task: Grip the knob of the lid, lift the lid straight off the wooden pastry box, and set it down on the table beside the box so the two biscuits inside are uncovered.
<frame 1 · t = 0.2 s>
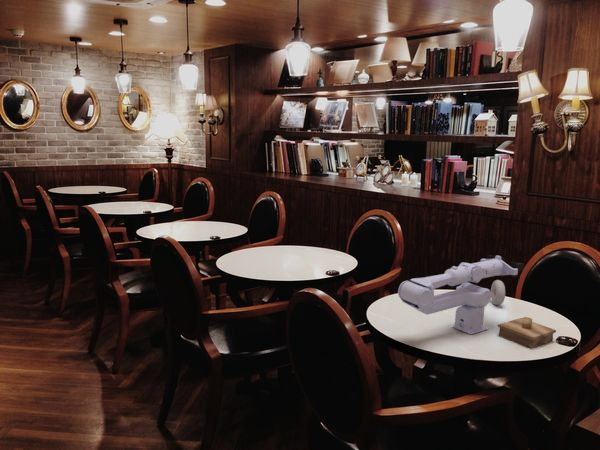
hand: (513, 263, 192), 21 cm above the table, tool horizontal, fingers open, 7 cm apart
biscuit a: (527, 343, 175), resting in box
lid: (526, 329, 178), point 3 cm above the table, touching box
biscuit b: (523, 335, 182), resting in box
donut: (496, 305, 212), on the table
box: (525, 338, 179), on the table
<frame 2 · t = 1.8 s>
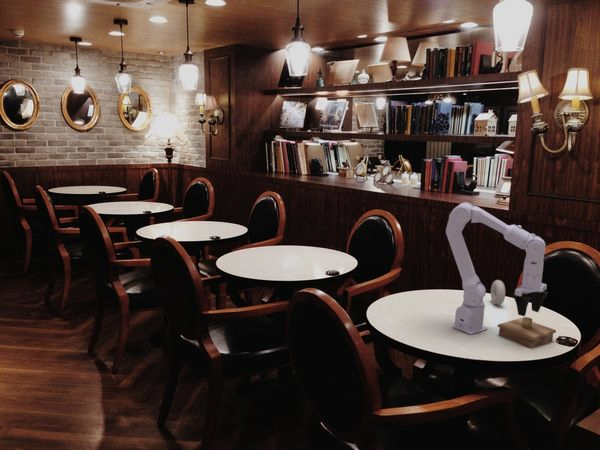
hand: (528, 313, 177), 9 cm above the table, tool pointing down, fingers open, 7 cm apart
nothing on the table moved.
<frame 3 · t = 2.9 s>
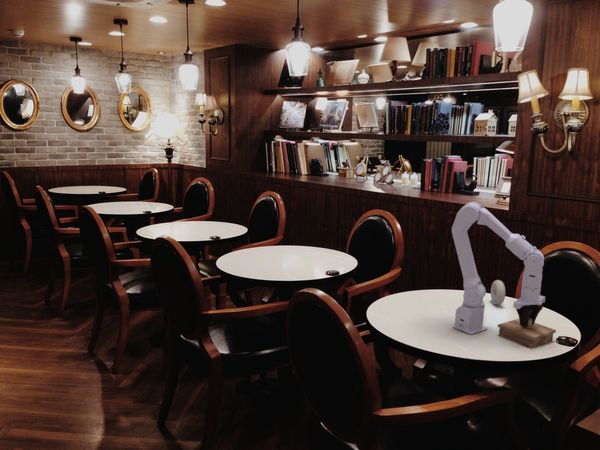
hand: (526, 325, 178), 4 cm above the table, tool pointing down, fingers closed on lid, 3 cm apart
lid: (526, 329, 178), point 3 cm above the table, touching box, gripper
everything else where it was.
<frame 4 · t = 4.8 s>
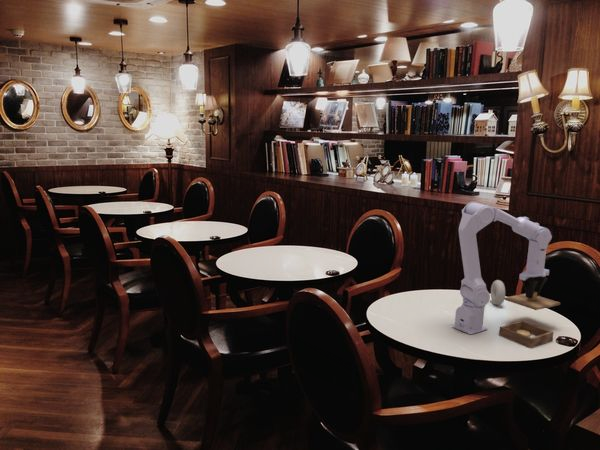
hand: (532, 296, 189), 10 cm above the table, tool pointing down, fingers closed on lid, 3 cm apart
lid: (531, 302, 189), point 9 cm above the table, touching gripper
everything else where it was.
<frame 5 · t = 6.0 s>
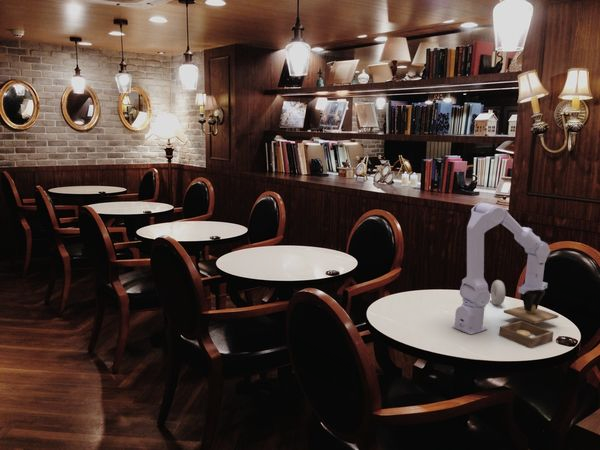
hand: (530, 309, 192), 5 cm above the table, tool pointing down, fingers closed on lid, 3 cm apart
lid: (530, 315, 192), point 3 cm above the table, touching gripper
everything else where it was.
when the fingers open (3 cm above the table, at t = 6.7 s): lid drops 2 cm, on the table.
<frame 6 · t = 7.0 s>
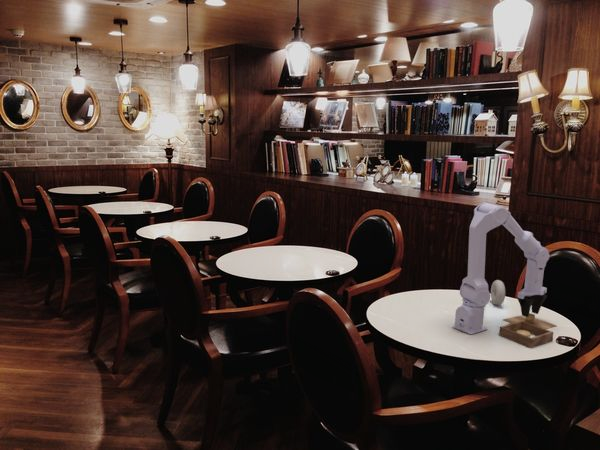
hand: (529, 314, 192), 3 cm above the table, tool pointing down, fingers open, 5 cm apart
lid: (529, 324, 193), on the table
everything else where it was.
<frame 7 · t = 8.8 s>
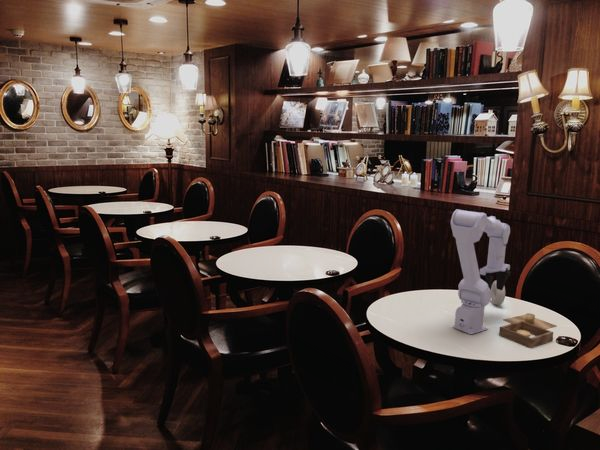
hand: (492, 291, 195), 10 cm above the table, tool pointing down, fingers open, 7 cm apart
nothing on the table moved.
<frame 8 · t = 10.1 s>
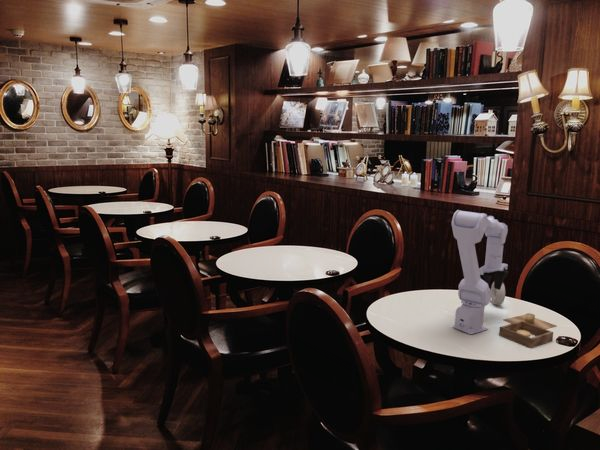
hand: (490, 290, 195), 10 cm above the table, tool pointing down, fingers open, 7 cm apart
nothing on the table moved.
at the end: lid inside the target area (0.2 cm from its centre), on the table; lid touching table; the gripper is holding nothing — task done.
